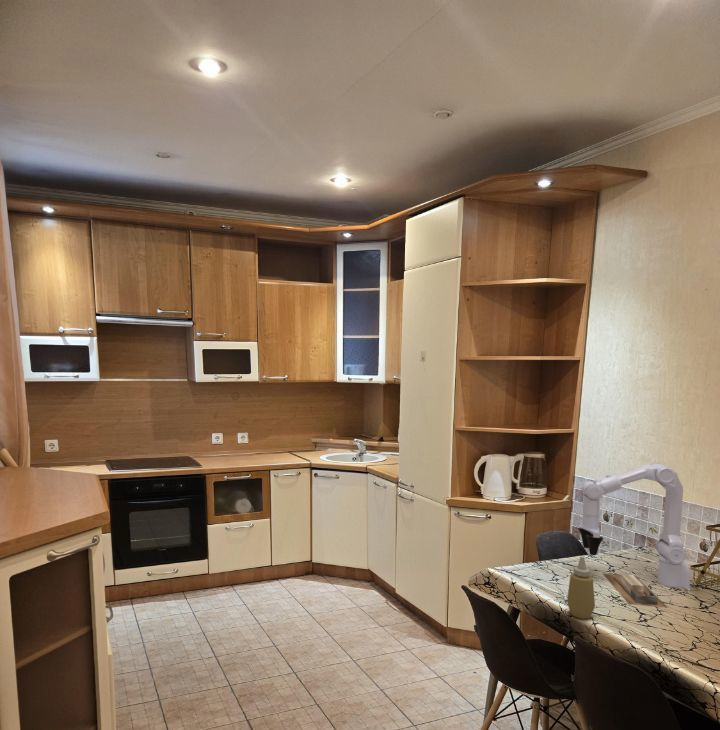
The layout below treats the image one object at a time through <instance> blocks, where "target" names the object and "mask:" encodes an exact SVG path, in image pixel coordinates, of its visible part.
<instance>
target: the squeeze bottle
mask: <svg viewBox="0 0 720 730" xmlns="http://www.w3.org/2000/svg"><path fill="white" fill-rule="evenodd" d="M579 557H580V558H579V560H578V564H577V566H574V568H573V573H571V574H570V577H569V583H568V584H569V585H568V590H567V591H568V592H567V598H566V601H567V606H568V609H569V612H570V615H572V616H573V617H575V618H578V619H583V620H587V619H586V618H589V619H590V618H591V617H592V614H593V613H594V609H595V607H596V603H595V602H596V601H595V590H594V589H595V588H594V579H593V578H592V577H591V573H590V572H591V571H590V569H589V568H587V566H586V565H587V564H586V560H585V557H584V556H579Z"/></svg>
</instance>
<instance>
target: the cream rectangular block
mask: <svg viewBox="0 0 720 730" xmlns="http://www.w3.org/2000/svg"><path fill="white" fill-rule="evenodd" d="M620 575H621V579H620V582H621V583H622V584H623V585H624V586H625V587H626V589H627V590H628V591H629V592H630V593H631V590H633V591H634V592H635V593H636V594H641V595H644V586H643V585H642V584H641V583H640V582H639V581H638V580H637V579H636V578H635V577H634V575H633V574H629V573H620Z"/></svg>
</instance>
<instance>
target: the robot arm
mask: <svg viewBox="0 0 720 730" xmlns="http://www.w3.org/2000/svg"><path fill="white" fill-rule="evenodd" d="M678 474H679V473H677V472H676V471H675V470H674V469H673V468H671V467H670V466H666V465H663V464H661V463H660V462H652V463H649V464H648V463H647V464H644V465H642V466H640V467H638V468H634V469H632V470H630V471H628V472H625V473H622V474H620V475H618V476H617V475H616V474H615V475H614V474H609V473H608V474H605V476H604V477H601V478H599V479H597V478H594V479H593V481H585V482H584V483H583V484H582V486H581V488H580V490H581V493H582V495H583V496H582V518H581V519H582V521H581V524H579V525H578V531H579V534H580V535H581V541H582V545H583V548H584V549H588V551H589V555H590V556H597V554H598V551H599V547H600V545H601V544H602V541H603V540H604V538H603V536H600V535H601V534H600V531H601V530H600V509H601V508H600V503H601V502H600V499H601V498H602V497H603V496H604V495H607V494H610V493H614V492H615V491H618V490H620V489H621V487H622V486H623V485H627V484H630V483H634V482H637V481H641V480H649V481H653V482H656V483H658V484H659V485H660V486H661V487H662V488H663V489H664V490H665V500H664V509H663V510H664V511H663V522H662V523H663V524H662V525H663V526H662V532H661V533H660V534H659V537H658V541H657V542H656V544H655V548H656V549H655V550H656V551H657V553H658V569H657V570H658V572H657V573H658V574H657V582H658V583H659V584H661V585H663V586H665V587H669V588H683V589H684V588H685V589H686V590H687V591H691V588H690V587H691V570H690V566H689V565H688V563H687V562H685V560H686V552H685V549H684V543H683V540H682V538H681V535H680V534H681V527H682V526H681V522H682V510H683V509H682V508H683V497H684V487H683V484H682V482H681V480H680V479H679V476H678Z"/></svg>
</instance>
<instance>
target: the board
mask: <svg viewBox="0 0 720 730" xmlns="http://www.w3.org/2000/svg"><path fill="white" fill-rule="evenodd" d="M602 575H603V576H604V577H605V579H607V581H608V582H609V583H610V584H611V585H612V587H613V588H614V589H615V590H616V591H617V592H618V593H619V594H620V596H621V597H622V598H623V599H624V600H625V601H626V603H627V604H629V605H636V606H643V607H644V606H645V607H655V608H669V607H668V606H667V605H666V604H665V603H664V602H663V601H662V600H661V599H660V598H659V597H658V596H657V595H656V594H655V593H654V592H653V591H652V590H650V589H649V587H647V586H646V585H645V583H643V582H642V580H640V579H639V578H638V576H634V575H633V576H634V577H635V578H636V579H637V580H638V581H639V582H640V583H641V584H642V585H643V586H644V595H641V594H636V593H635V592H634V591H633V590H631V593H630V592H629V591H628V590H627V589H626V587H625V586H624V585H623V584H622V583H621V582H620V579H621V574H610V573H602Z"/></svg>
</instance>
